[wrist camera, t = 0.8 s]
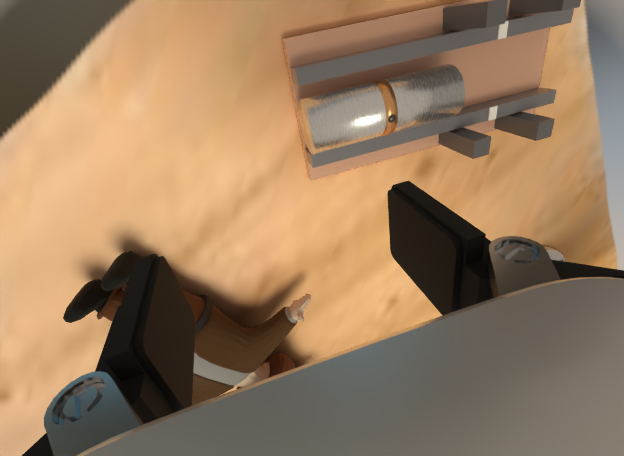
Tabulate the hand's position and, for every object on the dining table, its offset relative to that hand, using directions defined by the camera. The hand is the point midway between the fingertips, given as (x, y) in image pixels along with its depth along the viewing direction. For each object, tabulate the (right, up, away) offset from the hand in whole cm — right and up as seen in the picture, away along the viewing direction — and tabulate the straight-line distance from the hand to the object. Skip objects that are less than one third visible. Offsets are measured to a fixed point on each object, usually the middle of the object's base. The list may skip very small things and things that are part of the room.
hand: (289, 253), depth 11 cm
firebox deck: (+11, +15, +19) cm, 27 cm away
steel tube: (+6, +12, +17) cm, 22 cm away
